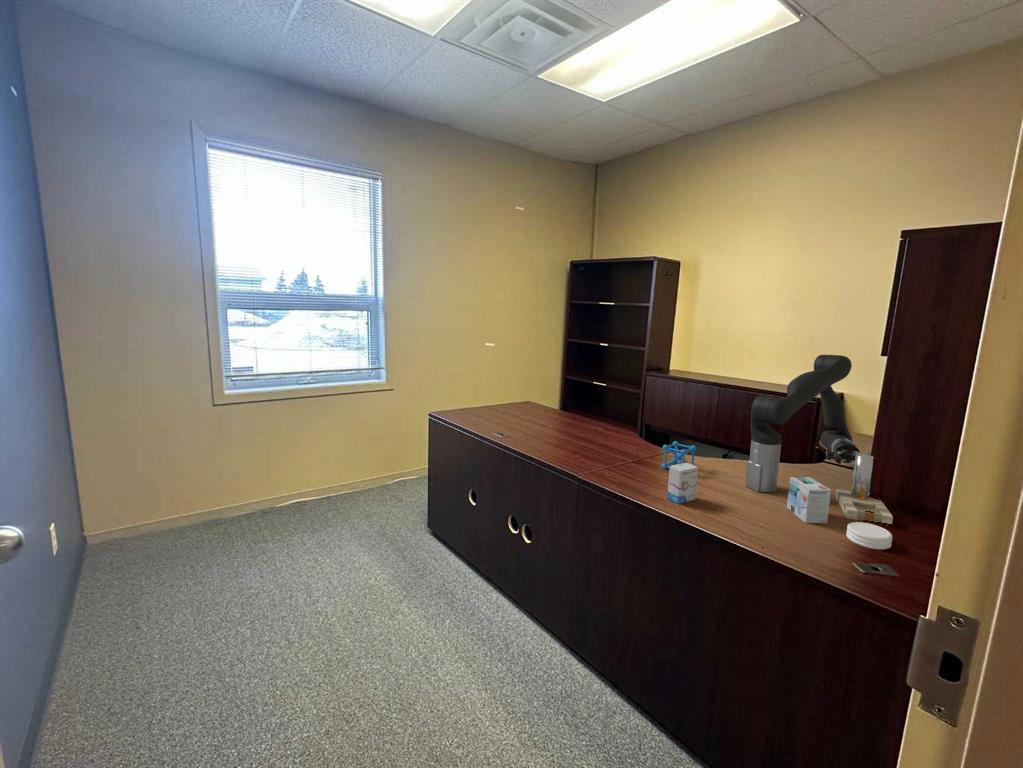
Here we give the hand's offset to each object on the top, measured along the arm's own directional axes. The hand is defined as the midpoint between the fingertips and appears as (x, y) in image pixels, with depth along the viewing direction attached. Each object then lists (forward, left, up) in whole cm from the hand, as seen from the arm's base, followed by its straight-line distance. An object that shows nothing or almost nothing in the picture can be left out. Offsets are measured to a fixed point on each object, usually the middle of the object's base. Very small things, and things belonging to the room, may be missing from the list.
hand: (854, 463), depth 159 cm
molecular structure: (-43, +37, -11) cm, 58 cm away
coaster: (-27, -27, -12) cm, 40 cm away
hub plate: (-10, -12, -11) cm, 19 cm away
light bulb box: (-30, -10, -11) cm, 33 cm away
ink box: (-60, +11, -11) cm, 62 cm away
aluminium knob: (-7, -8, -8) cm, 13 cm away
